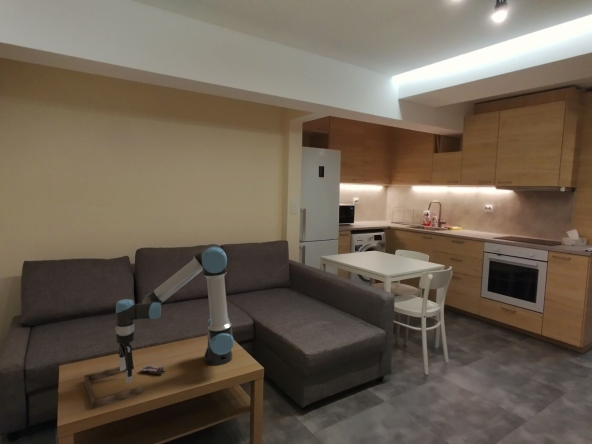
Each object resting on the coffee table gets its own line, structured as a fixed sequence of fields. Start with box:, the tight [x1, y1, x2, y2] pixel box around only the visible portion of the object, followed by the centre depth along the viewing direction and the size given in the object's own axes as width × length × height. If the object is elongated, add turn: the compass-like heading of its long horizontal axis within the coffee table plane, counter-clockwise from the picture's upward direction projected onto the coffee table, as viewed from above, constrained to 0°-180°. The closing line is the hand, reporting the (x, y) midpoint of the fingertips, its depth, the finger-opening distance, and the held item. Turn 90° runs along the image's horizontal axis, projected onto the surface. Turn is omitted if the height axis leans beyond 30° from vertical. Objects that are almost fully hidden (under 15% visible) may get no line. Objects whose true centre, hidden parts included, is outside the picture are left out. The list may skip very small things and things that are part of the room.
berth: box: [83, 365, 143, 410], centre depth 164 cm, size 20×27×3 cm
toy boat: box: [139, 364, 167, 376], centre depth 178 cm, size 13×6×4 cm, turn 72°
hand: (126, 376), depth 167 cm, fingers open, 13 cm apart
